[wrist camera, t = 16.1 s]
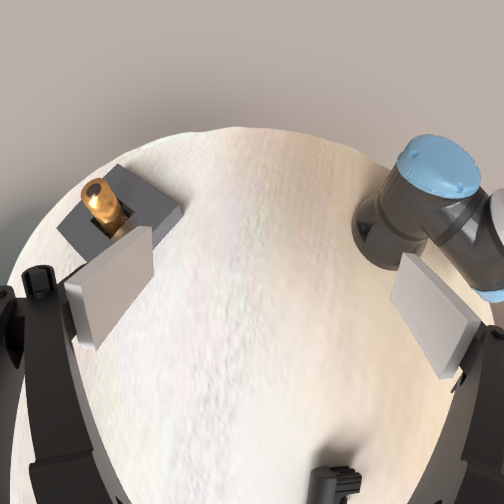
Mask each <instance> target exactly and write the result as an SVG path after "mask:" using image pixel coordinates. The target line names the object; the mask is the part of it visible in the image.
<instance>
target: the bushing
mask: <svg viewBox="0 0 504 504" xmlns="http://www.w3.org/2000/svg"><path fill="white" fill-rule="evenodd" d="M81 199H82V201H83V202H84V204H85V205H86V206H87V208H88V209H89V210H90V212H91V213H92V214H93V216H94V217H95V218H96V219H97V221H98V222H99V223H100V224H101V226H102V227H103V228H104V230H105V231H106V232H107V233H108V234H109V236H110V237H111V238H112V237H113V236H114V234H115V233H116V232H117V231H118V230H119V229H120V228H121V227H122V226H123V224H124V223H125V222H126V221H127V220H128V219H129V218H128V216H127V215H126V213H125V212H124V210H123V208H122V207H121V205H120V203H119V202H118V200H117V198H116V197H115V195H114V193H113V192H112V190H111V188H110V187H109V185H108V183H107V182H106V180H104V179H102V178H96V179H93V180H91V181H90V182H88V183H87V184H86V185H85V186H84V188H83V189H82V192H81Z"/></svg>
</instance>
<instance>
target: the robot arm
mask: <svg viewBox="0 0 504 504" xmlns="http://www.w3.org/2000/svg"><path fill="white" fill-rule="evenodd" d="M474 164H475V162H474V160H473V158H472V157H471V156H470V155H469V154H468V153H467V152H466V151H465V150H464V149H463V148H462V147H460V146H459V145H457V144H456V143H454V142H452V141H450V140H449V139H446V138H444V137H441V136H435V135H431V134H425V135H420V136H418V137H415V138H414V139H412V140H411V141H410V142H409V144H408V145H407V146H406V148H405V149H404V151H403V152H402V153H401V154H400V155H399V156H398V159H397V162H396V164H395V166H394V167H393V169H392V171H391V173H390V174H389V176H388V178H387V179H386V181H385V183H384V184H383V186H382V188H381V189H380V191H378V192H377V193H375V194H373V195H372V196H370V197H368V198H367V199H365V200H364V201H363V202H362V203H361V204H360V206H359V207H358V209H357V210H356V212H355V214H354V216H353V220H352V234H353V238H354V241H355V243H356V245H357V247H358V249H359V250H360V252H361V253H362V254H363V255H364V256H365V257H366V258H367V259H368V260H369V261H370V262H371V263H373V264H374V265H376V266H378V267H380V268H383V269H386V270H391V271H397V270H398V273H397V276H396V280H395V283H394V287H393V290H392V293H391V296H390V299H391V300H392V302H393V303H394V305H395V307H396V308H397V310H398V311H399V313H400V314H401V316H402V318H403V319H404V321H405V322H406V324H407V326H408V327H409V329H410V330H411V332H412V334H413V335H414V337H415V339H416V340H417V342H418V344H419V345H420V347H421V349H422V350H423V352H424V354H425V356H426V357H427V359H428V361H429V363H430V364H431V366H432V368H433V370H434V371H435V373H436V375H437V377H438V379H444V378H452V377H453V376H454V374H455V372H456V370H457V369H458V367H459V366H460V367H461V369H462V371H463V372H462V374H461V376H460V377H459V379H458V381H457V382H456V384H455V386H454V387H453V389H452V390H451V393H453V392H454V390H455V393H454V397H453V400H452V403H451V406H450V409H449V412H448V415H447V418H446V421H445V424H444V426H443V429H442V432H441V434H440V437H439V439H438V442H437V444H436V447H435V449H434V451H433V454H432V456H431V458H430V461H429V463H428V465H427V467H426V469H425V471H424V473H423V475H422V477H421V479H420V481H419V483H418V485H417V487H416V489H415V491H414V493H413V495H412V496H411V498H410V500H409V502H408V503H407V504H504V330H503V329H502V328H500V327H497V326H494V325H488V326H486V325H485V324H484V323H483V322H482V321H481V319H480V318H479V317H478V316H477V315H476V314H475V313H474V312H473V311H472V310H471V309H470V308H469V307H468V305H467V304H466V303H465V302H464V301H463V300H462V299H461V298H460V297H459V296H458V295H457V294H456V293H455V292H454V291H453V290H452V289H451V288H450V287H449V286H448V285H447V284H446V283H445V282H444V281H443V280H442V279H441V278H440V277H439V276H438V275H437V274H436V273H435V272H434V271H433V270H431V269H430V268H429V267H428V266H427V265H426V264H425V263H424V262H423V261H422V260H421V259H420V258H419V257H420V256H421V254H422V252H423V250H424V248H425V245H426V243H427V240H428V237H429V238H430V239H431V240H432V241H433V242H434V243H435V244H436V245H437V247H438V248H439V249H440V250H441V251H442V252H443V253H444V255H445V256H446V257H447V258H448V259H449V260H450V262H451V263H452V264H453V265H454V266H455V268H456V269H457V270H458V271H459V273H460V274H461V275H462V276H463V278H464V279H465V280H466V281H467V283H468V285H469V286H470V287H471V288H472V289H473V290H474V291H476V292H477V294H478V295H479V296H480V297H481V298H482V299H483V300H485V301H487V302H493V303H496V302H501V301H504V189H498V190H496V191H495V192H494V193H493V194H492V195H491V196H490V197H489V196H488V195H487V193H486V192H485V191H484V190H483V189H482V188H481V187H480V180H481V176H480V172H479V169H478V167H477V166H476V165H474ZM153 276H154V267H153V247H152V227H147V226H138V227H136V228H135V229H133V230H132V231H131V232H129V233H128V234H126V235H125V236H124V237H122V238H121V239H120V240H118V241H117V242H116V243H114V244H113V245H112V246H110V247H109V248H108V249H106V250H105V251H104V252H102V253H101V254H100V255H98V256H97V257H96V258H94V259H93V260H92V261H91V262H88V263H86V264H83V265H81V266H80V267H78V268H77V269H76V270H74V272H72V273H71V274H69V276H67V277H66V278H64V279H63V280H62V281H61V282H59V283H58V284H57V283H56V278H55V273H54V269H53V267H51V266H49V265H37V266H34V267H31V268H29V269H27V270H25V271H24V272H23V273H22V275H21V277H22V281H23V285H24V289H25V293H26V298H16V297H15V293H14V290H13V288H12V287H11V286H5V285H4V286H0V504H10V468H11V454H12V444H13V435H14V427H15V421H16V414H17V408H18V403H19V398H20V393H21V388H22V383H23V379H24V375H25V385H26V398H27V408H28V416H29V423H30V430H31V436H32V442H33V447H34V452H35V459H36V460H35V463H30V465H29V475H30V480H31V484H32V488H33V492H34V495H35V499H36V502H37V504H132V503H131V502H130V500H129V498H128V497H127V495H126V493H125V491H124V489H123V487H122V485H121V483H120V481H119V479H118V477H117V475H116V473H115V471H114V468H113V466H112V464H111V462H110V459H109V457H108V455H107V452H106V450H105V448H104V445H103V443H102V440H101V437H100V435H99V432H98V429H97V427H96V424H95V421H94V418H93V415H92V412H91V409H90V406H89V403H88V400H87V397H86V393H85V390H84V387H83V383H82V380H81V376H80V372H79V368H78V364H77V360H76V356H75V352H74V347H73V344H72V341H71V340H72V339H73V338H74V337H75V335H76V334H77V338H78V341H79V345H80V347H83V348H87V349H90V350H94V351H97V349H98V348H99V347H100V345H101V344H102V342H103V341H104V340H105V338H106V337H107V336H108V334H109V333H110V332H111V330H112V329H113V328H114V326H115V325H116V324H117V322H118V321H119V320H120V318H121V317H122V316H123V314H124V313H125V312H126V310H127V309H128V308H129V306H130V305H131V304H132V303H133V301H134V300H135V299H136V297H137V296H138V295H139V294H140V292H141V291H142V290H143V289H144V287H145V286H146V285H147V284H148V282H149V281H150V280H151V279H152V277H153Z"/></svg>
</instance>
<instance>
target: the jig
mask: <svg viewBox="0 0 504 504" xmlns="http://www.w3.org/2000/svg"><path fill="white" fill-rule="evenodd" d="M102 179H104V180H106V182H107V183H108V185H109V187H110V188H111V190H112V192H113V193H114V195H115V197H116V198H117V200H118V202H119V203H120V205H121V207H122V208H123V209H125V210H126V211H127V212H128V213H130V214H131V215H132V216H131V217H130V218H129V219H128V220H127V221H126V222H125V223H124V224H123V226H122V227H121V228H120V229H119V230H118V231H117V232H116V233H115V234H114V236H113V237H112V238H111V239H109V238H108V237H107V236H106V235H104V234H103V233H102V232H101V231H100V229H101V227H102V226H101V224H100V223H99V222H98V221H97V219H96V218H95V217H94V216H93V214H92V213H91V212H90V210H89V209H88V208H87V206H86V205H85V204H84V202H83V201H82V200H81V201H80V202H79V203H78V204H77V205H76V206H75V207H74V209H73V210H72V211H71V212H70V213H69V214H68V215H67V216H66V217H65V219H64V220H63V221H62V222H61V223H60V224H59V226H58V227H57V230H58V231H59V232H60V233H61V234H62V235H63V236H64V238H65V239H66V240H67V241H68V242H69V243H70V244H71V245H72V247H73V248H74V249H75V250H76V251H77V252H78V253H79V254H80V255H81V256H82V257H83V258H84V260H85V261H86V262H87V263H88V262H91V261H92V260H93V259H94V258H96V257H97V256H98V255H100V254H101V253H102V252H104V251H105V250H106V249H108V248H109V247H110V246H112V245H113V244H114V243H116V242H117V241H118V240H120V239H121V238H122V237H124V236H125V235H126V234H128V233H129V232H131V231H132V230H133V229H135V228H136V227H138V226H147V227H152V247H153V249H154V248H155V247H156V246H157V245H158V243H159V242H160V241H161V240H162V239H163V238H164V237H165V236H166V234H167V233H168V232H169V231H170V230H171V229H172V228H173V227H174V226H175V224H176V223H177V222H178V221H179V220H180V219H181V218H182V217H183V215H182V212H181V209H180V206H179V204H177V203H176V202H174V201H173V200H171V199H170V198H168V197H167V196H165V195H164V194H162V193H161V192H159V191H158V190H157V189H155V188H154V187H152V186H151V185H149V184H148V183H146V182H145V181H143V180H142V179H140V178H139V177H137V176H136V175H134V174H133V173H131V172H130V171H128V170H127V169H125V168H124V167H122V166H121V165H119V164H117V165H116V166H115V167H114V168H113V169H112V170H110V171H109V172H108V173H107V174H106V175H105V176H104V177H103V178H102Z"/></svg>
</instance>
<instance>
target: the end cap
mask: <svg viewBox="0 0 504 504" xmlns="http://www.w3.org/2000/svg"><path fill="white" fill-rule="evenodd" d="M361 481H362V476H361V474H360V473H358V472H355V470H354V469H353V468H349V467H348V466H339V467H327V466H324V467H318V468H315V469H313V470H312V471H311V476H310V483H309V490H308V497H307V503H306V504H347V499H348V498H345V497H346V495H348V494H354V493H359V492H360V486H361Z"/></svg>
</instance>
